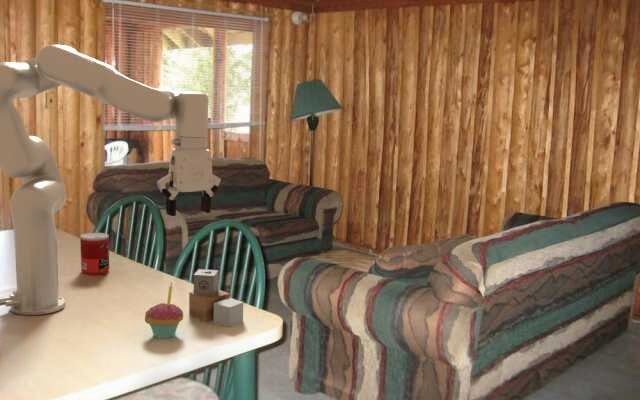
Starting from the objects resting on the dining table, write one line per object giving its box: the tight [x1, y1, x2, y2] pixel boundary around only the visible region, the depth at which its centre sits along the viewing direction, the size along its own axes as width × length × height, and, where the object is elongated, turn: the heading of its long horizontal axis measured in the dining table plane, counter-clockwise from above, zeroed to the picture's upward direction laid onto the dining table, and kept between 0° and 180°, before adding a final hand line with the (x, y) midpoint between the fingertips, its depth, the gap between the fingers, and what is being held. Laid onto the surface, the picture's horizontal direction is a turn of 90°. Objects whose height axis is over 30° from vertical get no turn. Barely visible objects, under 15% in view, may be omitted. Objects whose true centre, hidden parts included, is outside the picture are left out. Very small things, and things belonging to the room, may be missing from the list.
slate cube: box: [213, 298, 244, 328], centre depth 167 cm, size 5×5×5 cm
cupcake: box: [144, 281, 184, 339], centre depth 157 cm, size 9×8×12 cm
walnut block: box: [188, 288, 231, 324], centre depth 171 cm, size 7×7×6 cm
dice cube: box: [193, 268, 219, 296], centre depth 170 cm, size 5×5×5 cm
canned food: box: [79, 232, 110, 276], centre depth 204 cm, size 8×8×11 cm
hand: (188, 213), depth 170 cm, fingers open, 9 cm apart
